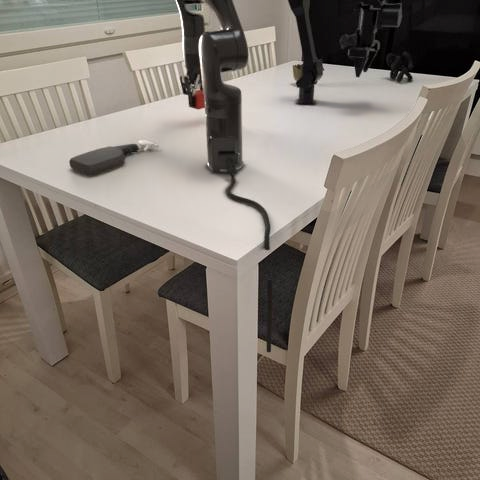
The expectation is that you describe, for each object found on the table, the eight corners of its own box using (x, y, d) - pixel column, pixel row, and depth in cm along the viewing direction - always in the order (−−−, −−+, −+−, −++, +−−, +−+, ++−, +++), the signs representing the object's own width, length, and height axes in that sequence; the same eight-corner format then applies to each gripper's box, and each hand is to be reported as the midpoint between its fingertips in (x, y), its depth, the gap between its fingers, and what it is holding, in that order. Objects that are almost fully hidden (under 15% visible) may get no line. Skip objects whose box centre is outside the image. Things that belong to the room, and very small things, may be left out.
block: (199, 104, 152) (199, 89, 150) (209, 106, 149) (208, 92, 147) (188, 106, 150) (187, 92, 147) (197, 109, 146) (196, 94, 144)
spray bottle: (67, 168, 120) (139, 144, 136) (91, 178, 114) (163, 151, 130) (65, 157, 118) (137, 134, 134) (89, 167, 112) (162, 142, 128)
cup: (289, 85, 195) (289, 66, 191) (295, 82, 200) (296, 63, 196) (305, 87, 192) (306, 67, 188) (311, 83, 197) (312, 64, 193)
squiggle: (400, 92, 202) (376, 71, 205) (417, 76, 202) (392, 56, 205) (405, 81, 191) (380, 59, 194) (423, 64, 191) (397, 42, 194)
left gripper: (199, 46, 147) (202, 98, 156) (170, 53, 137) (175, 108, 146) (218, 48, 143) (220, 101, 152) (189, 55, 133) (193, 111, 142)
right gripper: (351, 21, 159) (347, 67, 167) (335, 28, 145) (330, 77, 154) (383, 23, 155) (376, 70, 163) (369, 29, 141) (362, 80, 149)
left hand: (198, 104), depth 149 cm, fingers closed on block, 5 cm apart
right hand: (361, 74), depth 157 cm, fingers open, 9 cm apart
